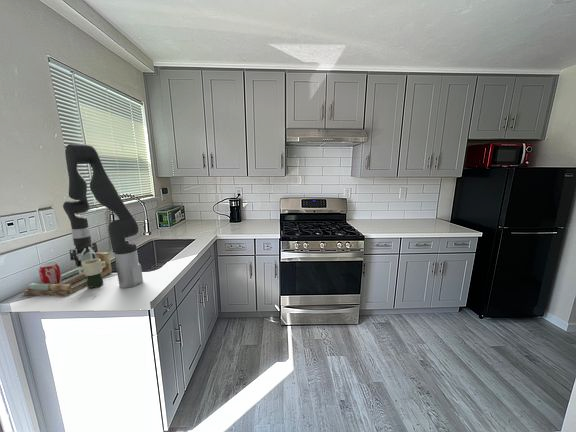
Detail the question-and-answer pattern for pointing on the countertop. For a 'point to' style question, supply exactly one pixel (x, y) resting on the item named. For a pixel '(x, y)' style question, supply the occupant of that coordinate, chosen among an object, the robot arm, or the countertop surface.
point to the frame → (46, 292)
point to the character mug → (93, 272)
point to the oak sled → (83, 276)
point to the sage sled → (46, 286)
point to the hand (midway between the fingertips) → (86, 263)
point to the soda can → (50, 273)
